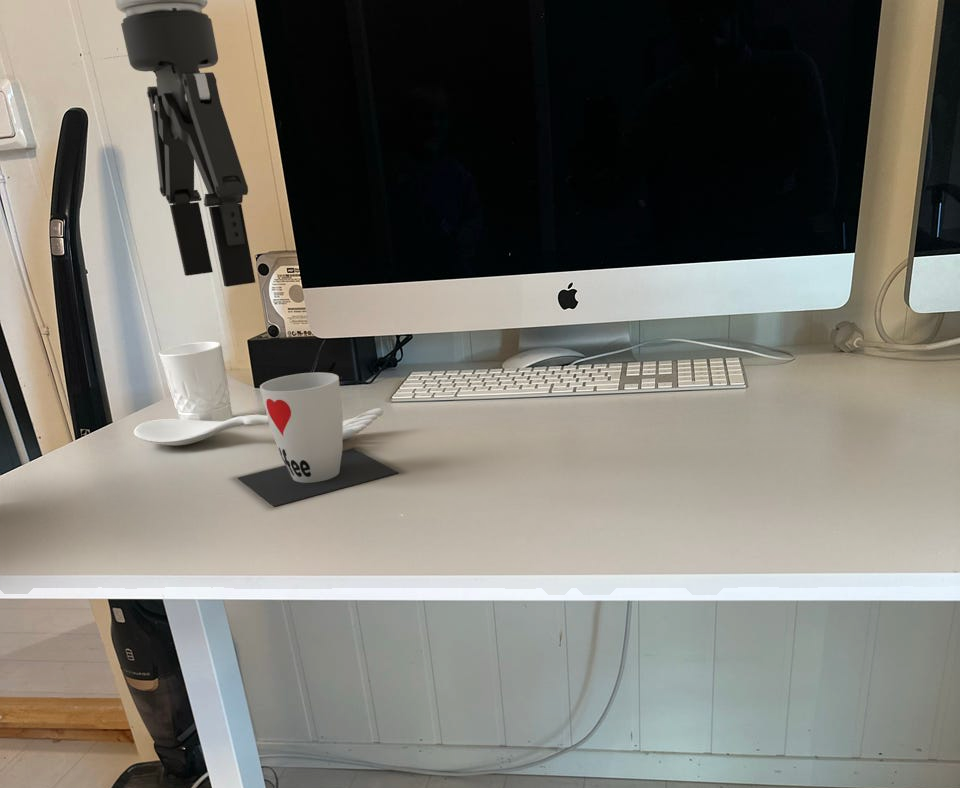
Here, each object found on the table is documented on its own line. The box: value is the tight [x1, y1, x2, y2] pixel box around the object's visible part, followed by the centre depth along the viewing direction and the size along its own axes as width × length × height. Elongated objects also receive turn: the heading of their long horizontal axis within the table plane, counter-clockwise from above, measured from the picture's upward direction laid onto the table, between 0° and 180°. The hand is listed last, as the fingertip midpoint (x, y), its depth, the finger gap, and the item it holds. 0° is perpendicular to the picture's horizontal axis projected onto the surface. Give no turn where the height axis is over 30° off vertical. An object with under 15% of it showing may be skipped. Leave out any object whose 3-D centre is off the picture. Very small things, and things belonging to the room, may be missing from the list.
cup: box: [259, 372, 344, 483], centre depth 96 cm, size 8×8×10 cm
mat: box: [237, 448, 399, 508], centre depth 98 cm, size 14×12×1 cm
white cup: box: [158, 341, 234, 422], centre depth 119 cm, size 8×8×10 cm
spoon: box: [133, 407, 384, 447], centre depth 111 cm, size 9×32×4 cm, turn 72°
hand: (218, 279), depth 88 cm, fingers open, 13 cm apart
